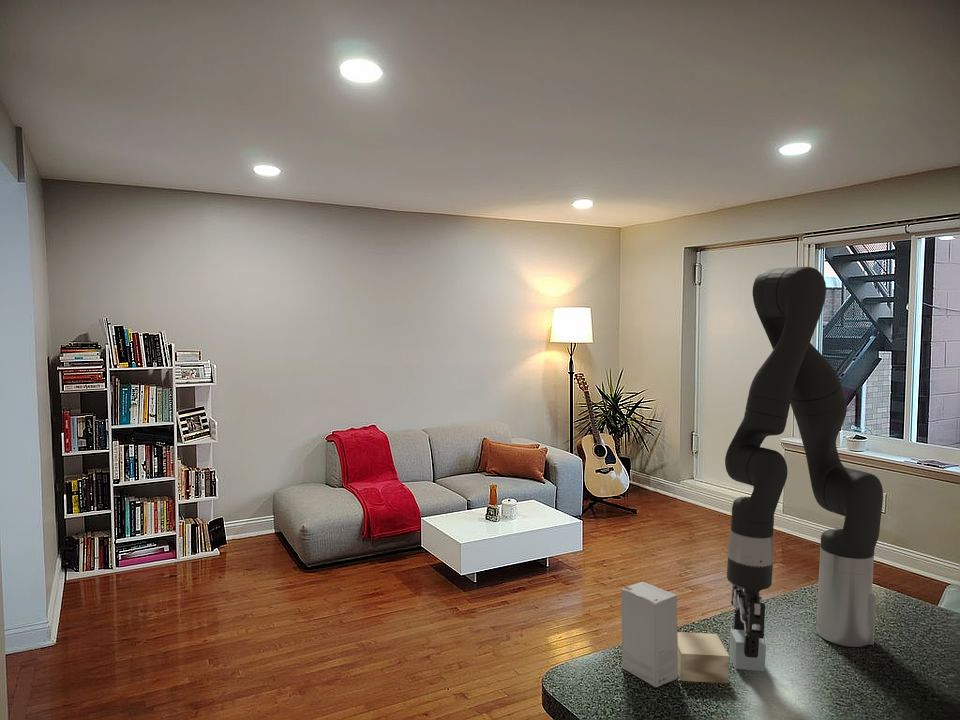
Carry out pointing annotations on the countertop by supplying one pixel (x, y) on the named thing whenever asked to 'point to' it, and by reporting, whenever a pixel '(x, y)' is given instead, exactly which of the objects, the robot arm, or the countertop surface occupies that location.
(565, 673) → the countertop surface
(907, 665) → the countertop surface
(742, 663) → the grey-blue cube
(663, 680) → the skincare box
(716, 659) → the birch block
